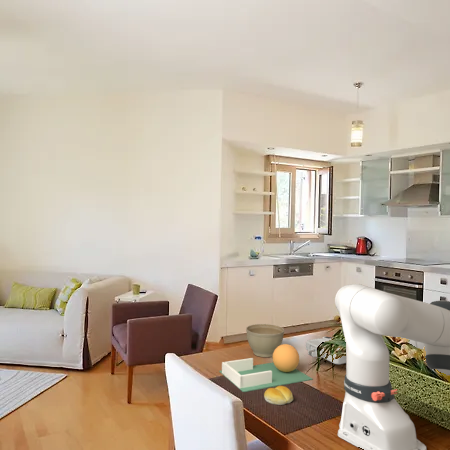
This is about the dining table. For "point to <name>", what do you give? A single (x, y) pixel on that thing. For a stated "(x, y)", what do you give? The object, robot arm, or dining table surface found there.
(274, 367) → the putting mat
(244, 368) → the white open box
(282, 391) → the bread roll
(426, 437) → the dining table surface
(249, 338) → the planter bowl
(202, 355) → the dining table surface
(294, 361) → the ball
